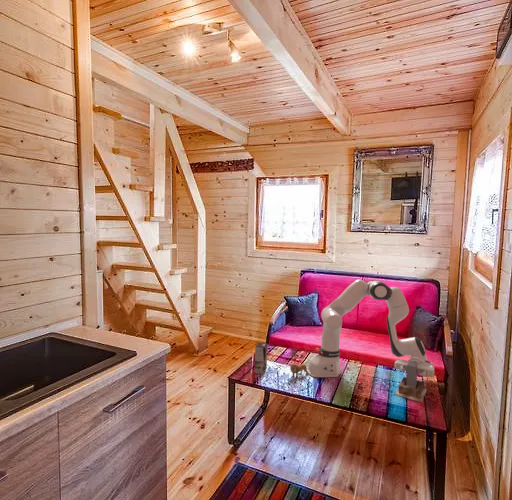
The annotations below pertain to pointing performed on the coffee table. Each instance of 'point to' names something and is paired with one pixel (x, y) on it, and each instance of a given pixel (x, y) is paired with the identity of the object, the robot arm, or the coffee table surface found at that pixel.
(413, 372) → the rail end
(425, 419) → the coffee table surface
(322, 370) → the robot arm
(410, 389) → the post block
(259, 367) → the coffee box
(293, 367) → the lion figurine
